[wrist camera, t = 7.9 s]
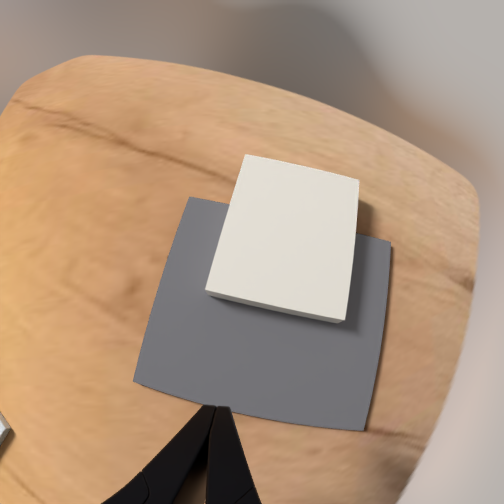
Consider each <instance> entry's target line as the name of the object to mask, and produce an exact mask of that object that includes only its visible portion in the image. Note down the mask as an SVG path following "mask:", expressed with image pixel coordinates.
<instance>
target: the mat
mask: <svg viewBox="0 0 504 504" xmlns="http://www.w3.org/2000/svg"><path fill="white" fill-rule="evenodd" d="M229 205H230V204H225V203H220V202H215V201H210V200H204V199H199V198H194V197H189V199H188V202H187V204H186V207H185V210H184V213H183V215H182V218H181V221H180V224H179V227H178V229H177V232H176V235H175V238H174V241H173V244H172V247H171V250H170V253H169V256H168V259H167V262H166V265H165V268H164V271H163V274H162V278H161V281H160V284H159V287H158V291H157V294H156V297H155V300H154V304H153V307H152V311H151V314H150V318H149V321H148V325H147V328H146V332H145V336H144V339H143V343H142V347H141V351H140V354H139V358H138V362H137V366H136V370H135V375H134V379H133V382H136V383H138V384H141V385H144V386H147V387H149V388H152V389H155V390H158V391H161V392H164V393H167V394H170V395H173V396H177V397H180V398H183V399H187V400H190V401H193V402H197V403H201V404H204V405H205V404H207V405H216V406H229V407H230V409H231V411H232V412H236V413H241V414H245V415H250V416H255V417H260V418H265V419H270V420H276V421H282V422H288V423H294V424H301V425H308V426H316V427H325V428H335V429H346V430H360V431H363V430H364V426H365V422H366V418H367V414H368V410H369V405H370V401H371V396H372V392H373V387H374V382H375V377H376V372H377V366H378V360H379V354H380V348H381V342H382V335H383V328H384V320H385V311H386V302H387V292H388V281H389V267H390V250H391V242H389V241H385V240H382V239H378V238H374V237H370V236H366V235H362V234H358V233H356V235H355V246H354V255H353V264H352V273H351V281H350V288H349V296H348V303H347V309H346V316H345V320H344V321H342V322H340V323H338V324H337V323H332V322H327V321H322V320H317V319H312V318H307V317H302V316H297V315H292V314H287V313H283V312H278V311H274V310H269V309H265V308H260V307H256V306H251V305H247V304H243V303H238V302H234V301H230V300H226V299H222V298H217V297H213V296H209V295H208V294H207V292H206V291H205V288H206V284H207V280H208V277H209V273H210V270H211V266H212V263H213V259H214V256H215V252H216V249H217V246H218V242H219V239H220V235H221V232H222V229H223V225H224V222H225V218H226V215H227V212H228V209H229Z"/></svg>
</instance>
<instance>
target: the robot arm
mask: <svg viewBox="0 0 504 504" xmlns="http://www.w3.org/2000/svg"><path fill="white" fill-rule="evenodd" d="M205 499H206V501H205ZM204 503H205V504H262V503H261V501H260V498H259V496H258V493H257V490H256V488H255V485H254V482H253V479H252V476H251V473H250V470H249V467H248V464H247V461H246V458H245V455H244V451H243V448H242V445H241V442H240V439H239V435H238V432H237V429H236V426H235V422H234V419H233V415H232V412H231V409H230V407H229V406H216V405H207V404H205V405H203V406H202V407H201V408H200V409H199V410H198V411H197V413H196V414H195V415H194V416H193V417H192V418H191V419H190V420H189V421H188V422H187V424H186V425H185V426H184V427H183V428H182V429H181V430H180V431H179V432H178V433H177V434H176V435H175V436H174V437H173V439H172V440H171V441H170V442H169V443H168V444H167V445H166V446H165V447H164V448H163V449H162V450H161V451H160V452H159V453H158V454H157V455H156V456H155V457H154V458H153V459H152V460H151V461H150V462H149V463H148V464H147V465H146V466H145V467H144V468H143V469H142V472H139V473H138V474H137V475H136V476H135V477H134V478H133V479H132V480H131V481H130V482H129V483H128V484H126V485H125V486H124V487H123V488H122V489H121V490H119V491H118V492H117V493H115V494H114V495H113V496H111V497H110V498H108V499H107V500H106V501H104V502H103V503H101V504H204Z"/></svg>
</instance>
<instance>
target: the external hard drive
mask: <svg viewBox="0 0 504 504" xmlns="http://www.w3.org/2000/svg"><path fill="white" fill-rule="evenodd" d="M10 429H11V427H10V425H9V424H8V423H7V421H6V420H5V418H4V417H3V415H2V414H1V412H0V446H1V444H2V442H3V440H4V439H5V437H6V435H7V434H8V432H9V430H10Z"/></svg>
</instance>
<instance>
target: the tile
mask: <svg viewBox="0 0 504 504" xmlns="http://www.w3.org/2000/svg"><path fill="white" fill-rule="evenodd" d="M358 194H359V180H357V179H353V178H350V177H346V176H342V175H338V174H334V173H330V172H326V171H322V170H318V169H314V168H310V167H305V166H301V165H297V164H292V163H287V162H283V161H278V160H273V159H268V158H263V157H258V156H253V155H247V154H245V157H244V160H243V164H242V167H241V170H240V173H239V176H238V179H237V183H236V186H235V189H234V192H233V195H232V199H231V202H230V205H229V209H228V212H227V215H226V218H225V222H224V225H223V229H222V232H221V235H220V239H219V242H218V246H217V249H216V252H215V256H214V259H213V263H212V266H211V270H210V273H209V277H208V280H207V284H206V288H205V291H206V292H207V294H208V295H209V296H213V297H217V298H222V299H226V300H230V301H234V302H238V303H243V304H247V305H251V306H256V307H260V308H265V309H269V310H274V311H278V312H283V313H287V314H292V315H297V316H302V317H307V318H312V319H317V320H322V321H327V322H332V323H337V324H338V323H340V322H342V321H344V320H345V316H346V309H347V303H348V296H349V288H350V281H351V273H352V264H353V255H354V246H355V235H356V223H357V210H358Z"/></svg>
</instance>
